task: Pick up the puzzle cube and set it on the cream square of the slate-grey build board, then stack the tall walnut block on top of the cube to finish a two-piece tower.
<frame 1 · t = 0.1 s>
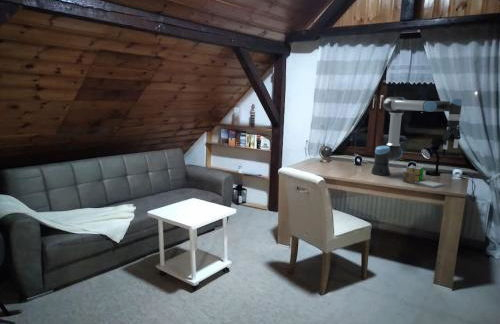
hand: (450, 148, 265), 28 cm above the table, fingers open, 13 cm apart
puzzle cube: (414, 179, 285), on the table
walnut block: (408, 182, 277), on the table
build board: (430, 184, 270), on the table
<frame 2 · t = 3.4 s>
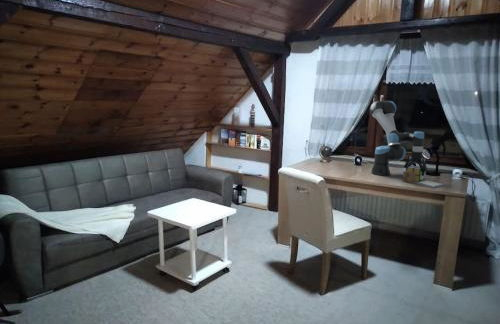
hand: (414, 178, 285), 1 cm above the table, fingers closed on puzzle cube, 11 cm apart
puzzle cube: (414, 179, 285), on the table, touching gripper
everything else where it was.
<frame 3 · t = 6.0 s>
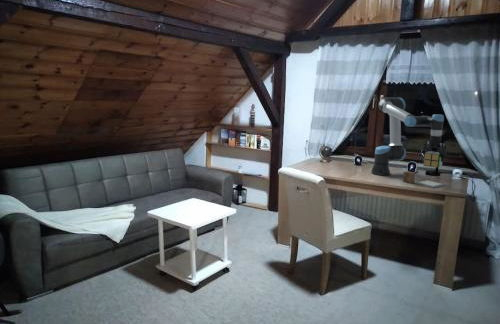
hand: (432, 164, 267), 16 cm above the table, fingers closed on puzzle cube, 11 cm apart
puzzle cube: (432, 166, 267), point 14 cm above the table, touching gripper
everything else where it was.
when the fingers open (4 cm above the table, at t = 8.7 s): puzzle cube drops 2 cm, resting on build board.
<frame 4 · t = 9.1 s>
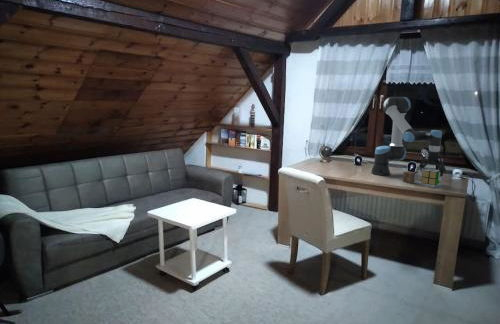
hand: (430, 178, 269), 5 cm above the table, fingers open, 13 cm apart
puzzle cube: (430, 183, 270), point 1 cm above the table, touching build board
everything else where it was.
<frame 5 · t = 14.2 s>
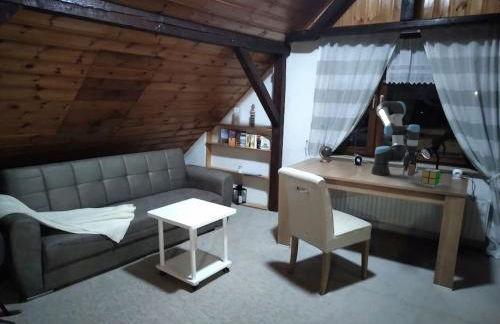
hand: (408, 174, 276), 6 cm above the table, fingers closed on walnut block, 6 cm apart
walnut block: (408, 174, 276), point 6 cm above the table, touching gripper
everything else where it was.
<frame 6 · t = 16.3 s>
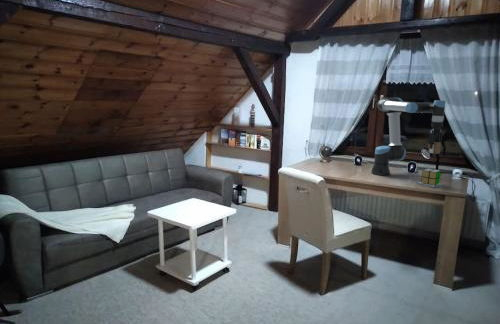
hand: (433, 152, 265), 25 cm above the table, fingers closed on walnut block, 6 cm apart
walnut block: (433, 153, 265), point 24 cm above the table, touching gripper
everything else where it was.
when the fingers open (12 cm above the table, at t = 18.8 s): walnut block stays where it is, resting on puzzle cube.
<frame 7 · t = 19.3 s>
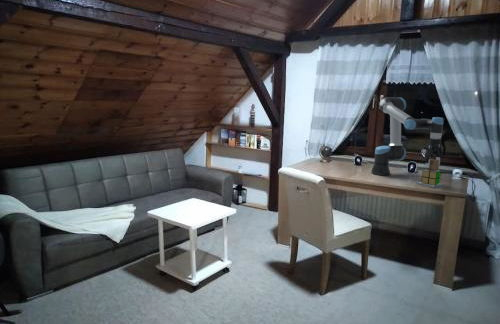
hand: (432, 166, 267), 14 cm above the table, fingers open, 12 cm apart
puzzle cube: (430, 183, 270), point 1 cm above the table, touching build board, walnut block
walnut block: (431, 170, 268), point 11 cm above the table, touching puzzle cube
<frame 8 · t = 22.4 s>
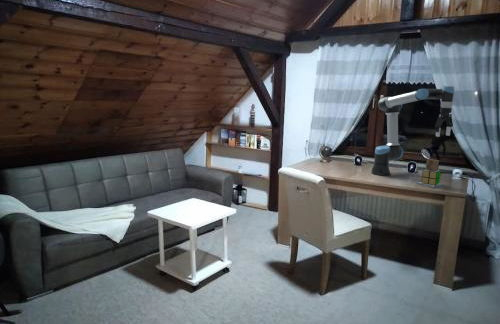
hand: (442, 136, 267), 37 cm above the table, fingers open, 13 cm apart
nothing on the table moved.
at the end: puzzle cube 0.1 cm from the build board (horizontally); walnut block 0.1 cm from the puzzle cube (horizontally); walnut block point 11.2 cm above the table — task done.
